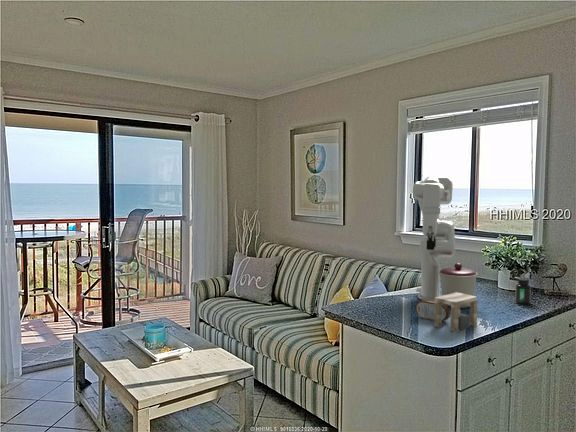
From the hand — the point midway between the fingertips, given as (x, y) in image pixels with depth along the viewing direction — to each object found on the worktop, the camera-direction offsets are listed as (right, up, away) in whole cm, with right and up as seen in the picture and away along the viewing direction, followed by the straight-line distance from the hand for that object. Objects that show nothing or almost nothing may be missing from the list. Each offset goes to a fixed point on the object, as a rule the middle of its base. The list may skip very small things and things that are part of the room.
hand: (431, 248), depth 205 cm
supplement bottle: (+52, -29, +19) cm, 62 cm away
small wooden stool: (+5, -32, -16) cm, 36 cm away
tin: (-1, -32, -6) cm, 32 cm away
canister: (+18, -30, +17) cm, 39 cm away
